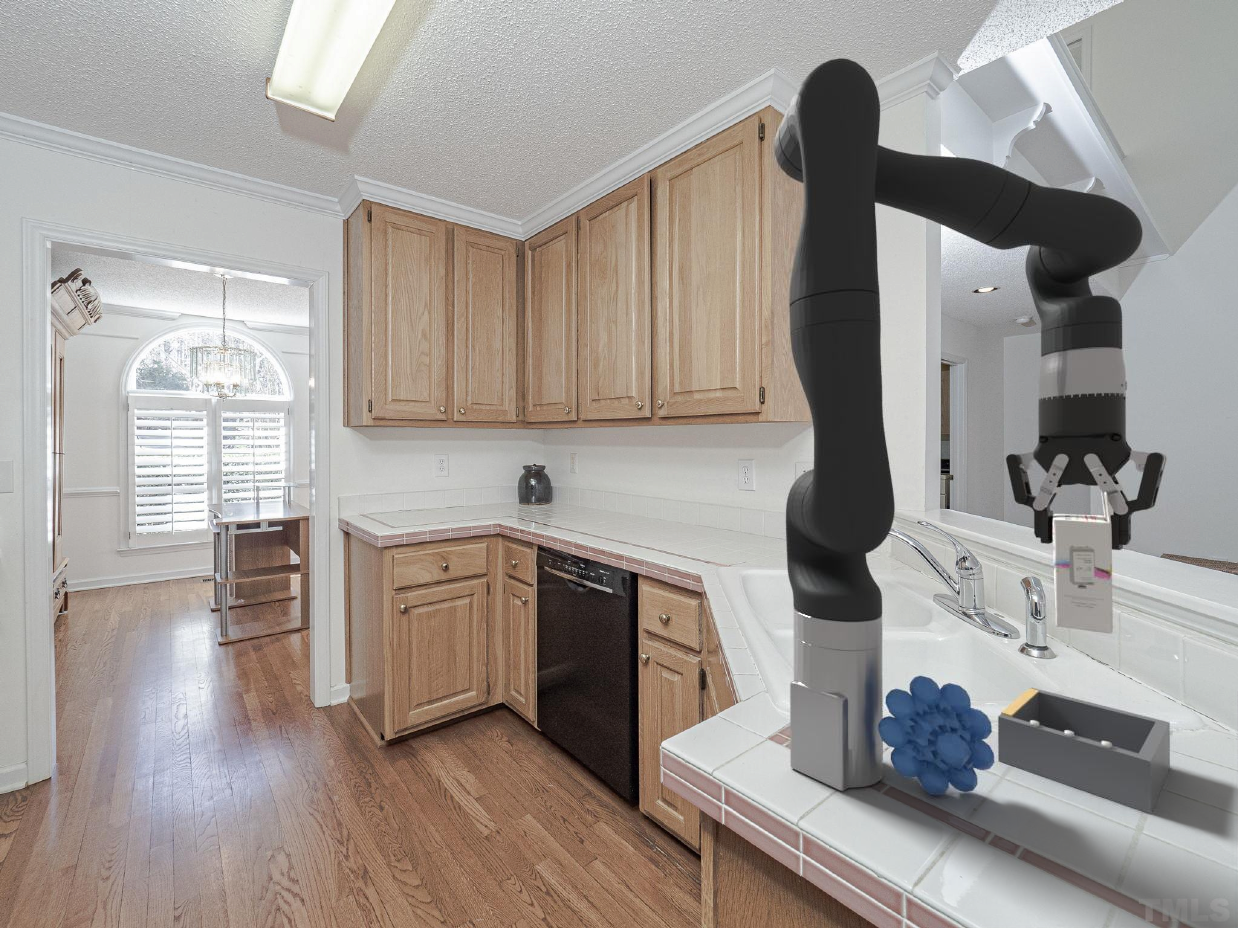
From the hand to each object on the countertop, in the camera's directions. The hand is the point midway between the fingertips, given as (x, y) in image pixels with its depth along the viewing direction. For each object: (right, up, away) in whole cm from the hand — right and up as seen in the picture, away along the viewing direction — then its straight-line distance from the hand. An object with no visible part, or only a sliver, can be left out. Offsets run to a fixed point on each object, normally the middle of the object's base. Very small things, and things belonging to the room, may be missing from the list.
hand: (1080, 545), depth 63 cm
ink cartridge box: (0, -9, 0) cm, 9 cm away
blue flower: (-19, -25, -6) cm, 32 cm away
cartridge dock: (0, -24, 0) cm, 24 cm away
